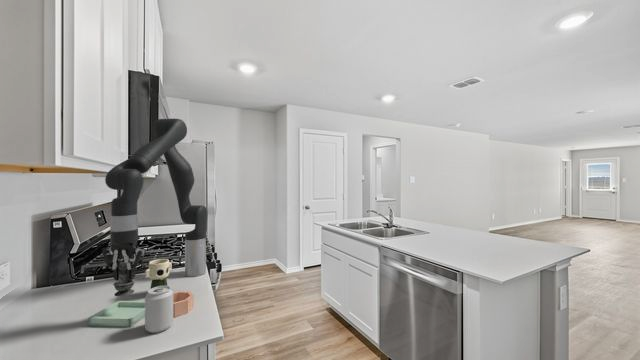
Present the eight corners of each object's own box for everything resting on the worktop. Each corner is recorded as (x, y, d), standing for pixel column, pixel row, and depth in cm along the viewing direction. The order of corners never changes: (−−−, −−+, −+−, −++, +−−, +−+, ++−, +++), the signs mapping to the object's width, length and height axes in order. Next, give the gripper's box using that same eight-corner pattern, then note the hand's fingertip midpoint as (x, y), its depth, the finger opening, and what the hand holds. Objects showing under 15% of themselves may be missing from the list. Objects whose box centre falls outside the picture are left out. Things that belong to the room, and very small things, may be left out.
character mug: (151, 300, 101) (151, 266, 101) (139, 297, 104) (139, 264, 104) (177, 289, 111) (177, 258, 111) (165, 287, 114) (165, 256, 114)
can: (167, 318, 88) (167, 282, 88) (177, 326, 83) (177, 288, 83) (141, 328, 82) (141, 289, 82) (150, 337, 77) (150, 296, 77)
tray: (118, 307, 96) (118, 300, 96) (156, 308, 95) (156, 301, 95) (87, 325, 84) (87, 318, 84) (131, 326, 83) (131, 319, 83)
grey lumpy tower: (115, 291, 91) (116, 255, 91) (136, 288, 93) (136, 253, 93) (110, 298, 85) (110, 260, 85) (133, 294, 88) (133, 258, 88)
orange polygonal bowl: (171, 303, 99) (171, 291, 99) (197, 303, 98) (197, 291, 98) (153, 317, 89) (153, 303, 89) (182, 317, 88) (182, 304, 88)
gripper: (152, 226, 93) (152, 276, 93) (113, 226, 93) (113, 275, 93) (136, 230, 85) (136, 284, 85) (94, 230, 86) (94, 283, 86)
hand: (124, 279), depth 89 cm, fingers closed on grey lumpy tower, 3 cm apart
